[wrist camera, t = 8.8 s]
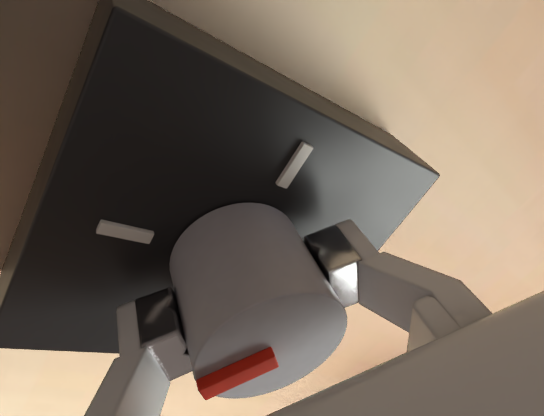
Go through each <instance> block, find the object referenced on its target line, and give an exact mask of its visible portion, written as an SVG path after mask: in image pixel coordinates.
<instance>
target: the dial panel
mask: <svg viewBox="0 0 544 416" xmlns="http://www.w3.org/2000/svg"><path fill="white" fill-rule="evenodd" d="M439 176H440V175H439V173H438V172H437V171H435V170H434V169H433V168H432V167H431V166H429V165H428V164H427V163H426V162H424V161H423V160H422V159H421V158H419V157H418V156H417V155H416V154H415V153H413V152H412V151H411V150H410V149H408V148H407V147H406V146H405V145H403V144H402V143H401V142H400V141H399V140H397V139H396V138H395V137H394V136H392V135H391V134H389V133H387V132H385V131H383V130H382V129H380V128H378V127H376V126H374V125H373V124H371V123H369V122H367V121H365V120H363V119H362V118H360V117H358V116H356V115H354V114H353V113H351V112H349V111H347V110H345V109H344V108H342V107H340V106H338V105H336V104H334V103H333V102H331V101H329V100H327V99H325V98H324V97H322V96H320V95H318V94H316V93H315V92H313V91H311V90H309V89H307V88H305V87H304V86H302V85H300V84H298V83H296V82H295V81H293V80H291V79H289V78H287V77H286V76H284V75H282V74H280V73H278V72H276V71H275V70H273V69H271V68H269V67H267V66H266V65H264V64H262V63H260V62H258V61H256V60H255V59H253V58H251V57H249V56H247V55H246V54H244V53H242V52H240V51H238V50H237V49H235V48H233V47H231V46H229V45H227V44H226V43H224V42H222V41H220V40H218V39H217V38H215V37H213V36H211V35H209V34H208V33H206V32H204V31H202V30H200V29H198V28H197V27H195V26H193V25H191V24H189V23H188V22H186V21H184V20H182V19H180V18H179V17H177V16H175V15H173V14H171V13H169V12H168V11H166V10H164V9H162V8H160V7H159V6H157V5H155V4H153V3H151V2H150V1H148V0H99V2H98V5H97V7H96V10H95V13H94V16H93V19H92V21H91V24H90V27H89V30H88V32H87V35H86V38H85V41H84V44H83V46H82V49H81V52H80V55H79V57H78V60H77V63H76V66H75V68H74V71H73V74H72V77H71V80H70V82H69V85H68V88H67V91H66V93H65V96H64V99H63V102H62V105H61V107H60V110H59V113H58V116H57V118H56V121H55V124H54V127H53V130H52V132H51V135H50V138H49V141H48V143H47V146H46V149H45V152H44V155H43V157H42V160H41V163H40V166H39V168H38V171H37V174H36V177H35V180H34V182H33V185H32V188H31V191H30V193H29V196H28V199H27V202H26V204H25V207H24V210H23V213H22V216H21V218H20V221H19V224H18V227H17V229H16V232H15V235H14V238H13V241H12V243H11V246H10V249H9V252H8V254H7V257H6V260H5V263H4V266H3V268H2V271H1V274H0V348H9V349H31V350H54V351H76V352H98V353H119V340H118V327H117V314H116V311H117V307H118V306H119V305H121V304H124V303H127V302H130V301H133V300H136V299H138V298H140V297H143V296H146V295H149V294H152V293H155V292H158V291H160V290H163V289H166V288H169V287H172V289H173V291H174V287H173V282H172V278H171V273H170V265H169V263H170V256H171V253H172V250H173V248H174V246H175V244H176V242H177V240H178V239H179V237H180V236H181V234H182V233H183V232H184V231H185V230H186V229H187V228H188V227H189V226H190V225H191V224H192V223H193V222H195V221H196V220H198V219H199V218H200V217H202V216H204V215H205V214H207V213H209V212H211V211H213V210H216V209H218V208H221V207H224V206H227V205H232V204H237V203H261V204H265V205H269V206H271V207H274V208H276V209H278V210H279V211H281V212H283V213H284V214H285V215H286V216H287V217H288V218H289V220H290V221H291V222H292V224H293V226H294V227H295V229H296V230H297V232H298V234H299V235H300V237H301V239H302V240H303V238H304V236H306V235H309V234H311V233H314V232H316V231H319V230H321V229H324V228H327V227H329V226H332V225H335V224H337V223H340V222H342V221H345V220H348V219H351V220H353V222H354V223H355V224H356V225H357V227H358V228H359V229H360V230H361V231H362V233H363V234H364V235H365V236H366V237H367V239H368V240H369V241H370V242H371V243H372V245H373V246H374V247H375V248H376V250H377V251H378V250H379V249H380V248H381V247H382V245H383V244H384V243H385V242H386V241H387V239H388V238H389V237H390V236H391V234H392V233H393V232H394V231H395V230H396V228H397V227H398V226H399V225H400V224H401V222H402V221H403V220H404V219H405V218H406V216H407V215H408V214H409V213H410V212H411V210H412V209H413V208H414V207H415V205H416V204H417V203H418V202H419V201H420V199H421V198H422V197H423V196H424V195H425V193H426V192H427V191H428V190H429V189H430V187H431V186H432V185H433V184H434V183H435V181H436V180H437V179H438V178H439ZM174 292H175V291H174Z"/></svg>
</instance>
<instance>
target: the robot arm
mask: <svg viewBox="0 0 544 416" xmlns="http://www.w3.org/2000/svg"><path fill="white" fill-rule="evenodd" d="M303 242H304V243H305V245H306V247H307V248H308V250H309V251H310V253H311V255H312V256H313V258H314V260H315V261H316V263H317V264H318V266H319V268H320V269H321V271H322V273H323V274H324V276H325V277H326V279H327V281H328V282H329V284H330V286H331V287H332V289H333V290H334V292H335V294H336V295H337V297H338V298H339V300H340V302H341V303H342V305H343V307H344V308H345V307H348V306H350V305H353V304H356V303H358V302H359V304H360V305H362V306H364V307H366V308H367V309H369V310H371V311H373V312H374V313H376V314H378V315H379V316H381V317H383V318H385V319H386V320H388V321H390V322H392V323H393V324H395V325H397V326H398V327H400V328H402V329H404V330H405V331H407V332H409V339H408V346H407V353H404V354H402V355H400V356H398V357H395V358H393V359H391V360H389V361H387V362H384V363H382V364H380V365H378V366H375V367H373V368H371V369H369V370H366V371H364V372H362V373H360V374H358V375H355V376H353V377H351V378H349V379H346V380H344V381H342V382H340V383H338V384H335V385H333V386H331V387H329V388H326V389H324V390H322V391H320V392H318V393H315V394H313V395H311V396H309V397H306V398H304V399H302V400H300V401H298V402H295V403H293V404H291V405H289V406H286V407H284V408H282V409H280V410H278V411H275V412H273V413H271V414H269V415H267V416H544V291H542V292H540V293H538V294H535V295H533V296H531V297H529V298H527V299H524V300H522V301H520V302H518V303H515V304H513V305H511V306H509V307H507V308H504V309H502V310H500V311H498V312H495V313H493V314H492V313H491V312H490V311H489V309H488V308H487V307H486V306H485V305H484V304H483V303H482V302H481V301H480V300H479V299H478V298H477V297H476V296H475V295H474V294H473V293H472V292H471V291H470V290H469V289H468V288H467V287H466V286H465V285H464V284H463V282H462V281H460V280H458V279H455V278H452V277H450V276H447V275H445V274H442V273H439V272H437V271H434V270H431V269H429V268H426V267H423V266H421V265H418V264H415V263H413V262H410V261H407V260H405V259H402V258H399V257H397V256H394V255H391V254H389V253H386V252H382V253H379V252H378V251H377V250H376V248H375V247H374V246H373V245H372V243H371V242H370V241H369V240H368V239H367V237H366V236H365V235H364V234H363V233H362V231H361V230H360V229H359V228H358V227H357V225H356V224H355V223H354V222H353V220H351V219H348V220H345V221H342V222H340V223H337V224H335V225H332V226H329V227H327V228H324V229H321V230H319V231H316V232H314V233H311V234H309V235H306V236H304V238H303ZM116 314H117V327H118V340H119V354H120V357H118V358H116V359H114V361H113V363H112V364H111V366H110V368H109V370H108V372H107V374H106V376H105V378H104V379H103V381H102V383H101V385H100V387H99V389H98V391H97V393H96V394H95V396H94V398H93V400H92V402H91V404H90V406H89V408H88V409H87V411H86V413H85V415H84V416H160V414H161V411H162V407H163V404H164V401H165V398H166V395H167V392H168V389H169V386H170V381H171V380H173V379H175V378H178V377H180V376H182V375H184V374H187V373H189V372H191V371H192V366H191V362H190V358H189V353H188V349H187V344H186V340H185V335H184V331H183V327H182V322H181V318H180V313H179V309H178V304H177V300H176V296H175V292H174V291H173V289H172V287H169V288H166V289H163V290H160V291H158V292H155V293H152V294H149V295H146V296H143V297H140V298H138V299H136V300H133V301H130V302H127V303H124V304H121V305H119V306H118V307H117V311H116Z"/></svg>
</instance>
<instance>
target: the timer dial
mask: <svg viewBox="0 0 544 416" xmlns="http://www.w3.org/2000/svg"><path fill="white" fill-rule="evenodd" d="M169 265H170V273H171V278H172V282H173V287H174V291H175V296H176V300H177V304H178V309H179V313H180V318H181V322H182V327H183V331H184V335H185V340H186V344H187V349H188V353H189V358H190V362H191V366H192V371H193V375H194V379H195V381H196V383H197V387H198V391H199V392H200V394H201V395H202V396H203V398H204V399H205V400H208V399H210V398H212V397H214V396H218V397H223V398H247V397H254V396H258V395H263V394H266V393H269V392H272V391H275V390H278V389H281V388H283V387H285V386H288V385H290V384H292V383H294V382H296V381H297V380H299V379H301V378H303V377H304V376H306V375H307V374H309V373H310V372H312V371H313V370H314V369H316V368H317V367H318V366H320V365H321V364H322V363H323V362H324V361H325V360H326V359H327V358H328V357H329V356H330V355H331V354H332V353H333V352H334V350H335V349H336V348H337V346H338V345H339V343H340V342H341V340H342V338H343V336H344V334H345V331H346V327H347V315H346V311H345V309H344V307H343V305H342V303H341V302H340V300H339V298H338V297H337V295H336V294H335V292H334V290H333V289H332V287H331V286H330V284H329V282H328V281H327V279H326V277H325V276H324V274H323V273H322V271H321V269H320V268H319V266H318V264H317V263H316V261H315V260H314V258H313V256H312V255H311V253H310V251H309V250H308V248H307V247H306V245H305V243H304V242H303V240H302V239H301V237H300V235H299V234H298V232H297V230H296V229H295V227H294V226H293V224H292V222H291V221H290V220H289V218H288V217H287V216H286V215H285V214H284V213H283V212H281V211H279V210H278V209H276V208H274V207H271V206H269V205H265V204H261V203H237V204H232V205H227V206H224V207H221V208H218V209H216V210H213V211H211V212H209V213H207V214H205V215H204V216H202V217H200V218H199V219H198V220H196V221H195V222H193V223H192V224H191V225H190V226H189V227H188V228H187V229H186V230H185V231H184V232H183V233H182V234H181V236H180V237H179V239H178V240H177V242H176V244H175V246H174V248H173V250H172V253H171V256H170V263H169Z"/></svg>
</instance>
